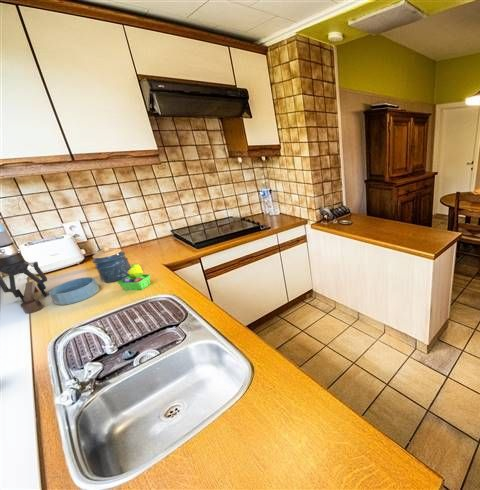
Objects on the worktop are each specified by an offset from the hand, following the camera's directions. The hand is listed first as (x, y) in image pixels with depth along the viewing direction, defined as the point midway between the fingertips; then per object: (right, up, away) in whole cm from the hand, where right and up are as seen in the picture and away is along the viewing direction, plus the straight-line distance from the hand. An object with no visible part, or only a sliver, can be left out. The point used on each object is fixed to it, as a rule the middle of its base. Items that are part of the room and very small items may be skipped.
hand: (35, 298), depth 126 cm
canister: (+24, +8, +17) cm, 30 cm away
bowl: (+20, +1, +1) cm, 20 cm away
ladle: (+3, -1, -2) cm, 4 cm away
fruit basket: (+44, +5, +6) cm, 45 cm away
